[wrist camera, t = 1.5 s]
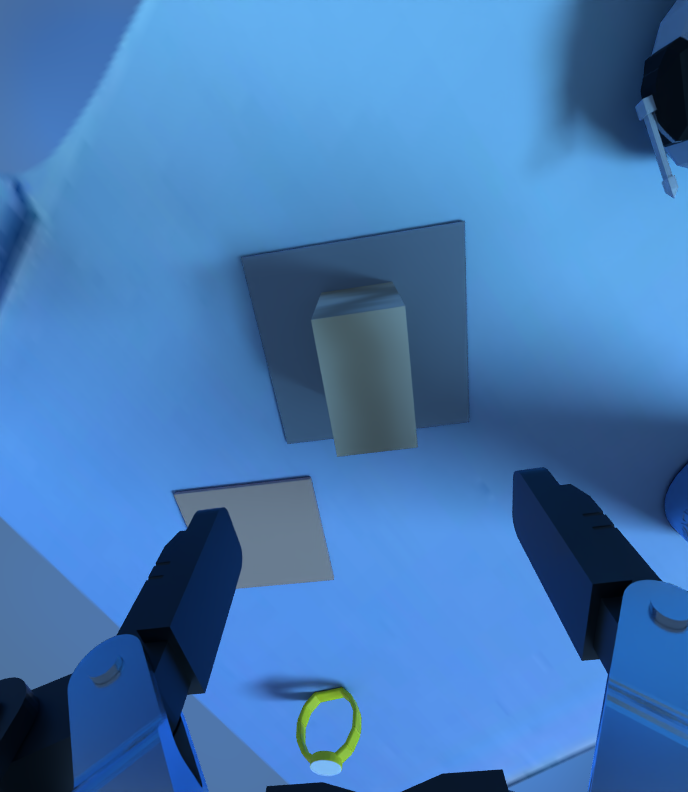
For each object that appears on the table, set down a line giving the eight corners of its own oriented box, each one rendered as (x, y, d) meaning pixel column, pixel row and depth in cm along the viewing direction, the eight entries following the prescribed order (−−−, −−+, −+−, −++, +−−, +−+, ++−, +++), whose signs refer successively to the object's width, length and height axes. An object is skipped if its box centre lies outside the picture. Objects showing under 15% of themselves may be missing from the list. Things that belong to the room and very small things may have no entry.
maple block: (392, 281, 22) (405, 305, 17) (403, 395, 25) (417, 447, 20) (321, 292, 22) (311, 320, 17) (340, 403, 25) (337, 456, 20)
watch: (309, 702, 41) (298, 778, 35) (298, 687, 39) (285, 763, 34) (365, 696, 39) (362, 774, 34) (355, 680, 38) (350, 758, 33)
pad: (310, 476, 28) (310, 479, 28) (333, 576, 32) (333, 579, 32) (175, 492, 29) (173, 494, 29) (215, 587, 33) (214, 590, 33)
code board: (463, 220, 21) (464, 221, 21) (468, 420, 26) (469, 421, 26) (241, 257, 22) (240, 257, 22) (287, 442, 27) (287, 444, 27)
